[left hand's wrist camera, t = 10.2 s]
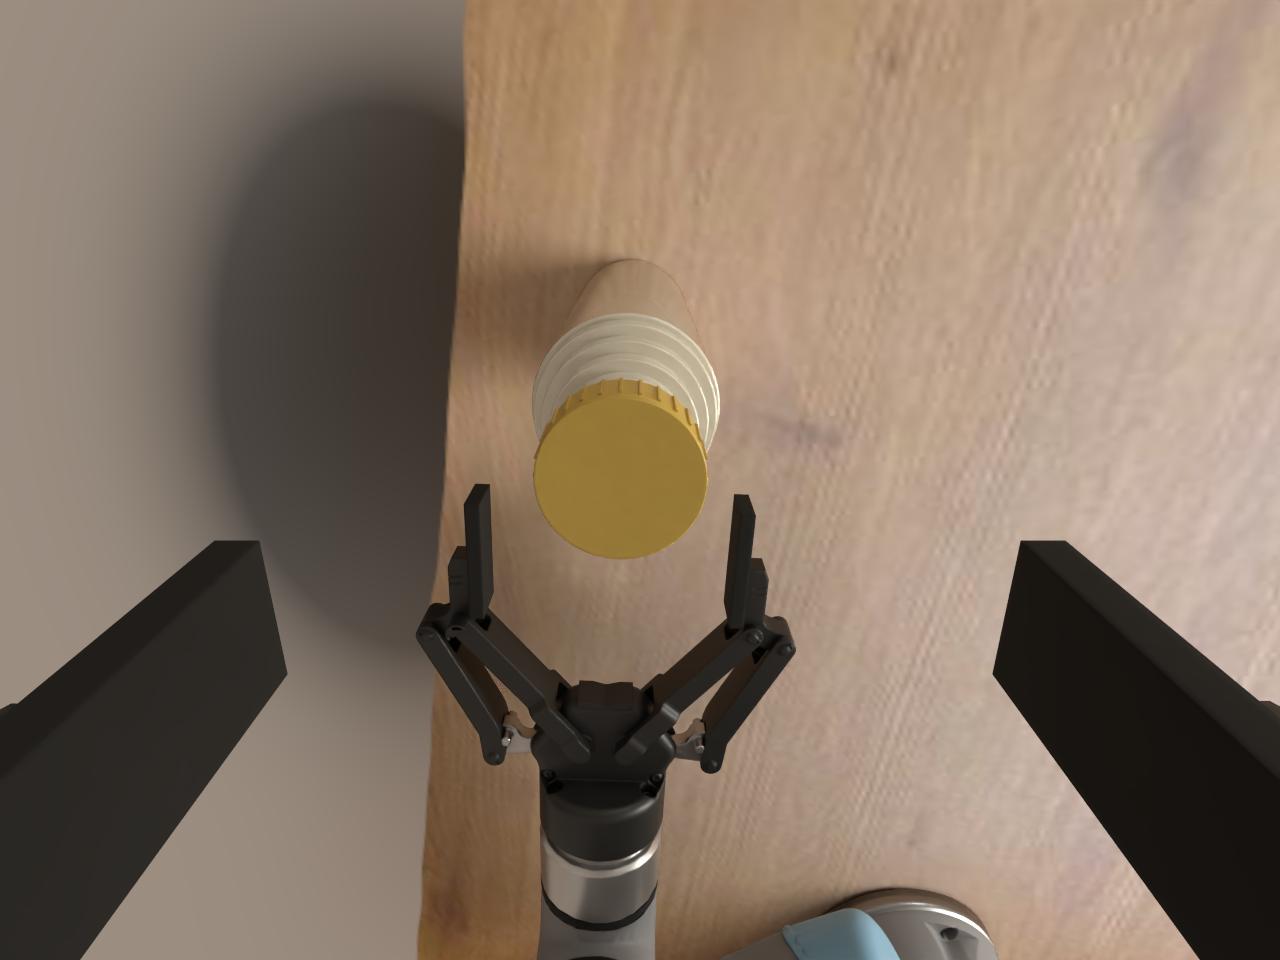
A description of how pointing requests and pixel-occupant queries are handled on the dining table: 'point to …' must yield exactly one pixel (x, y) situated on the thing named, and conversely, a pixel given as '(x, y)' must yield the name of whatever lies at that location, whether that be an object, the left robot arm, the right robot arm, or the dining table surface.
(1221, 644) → the dining table surface
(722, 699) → the right robot arm
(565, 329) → the bottle
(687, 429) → the cap
